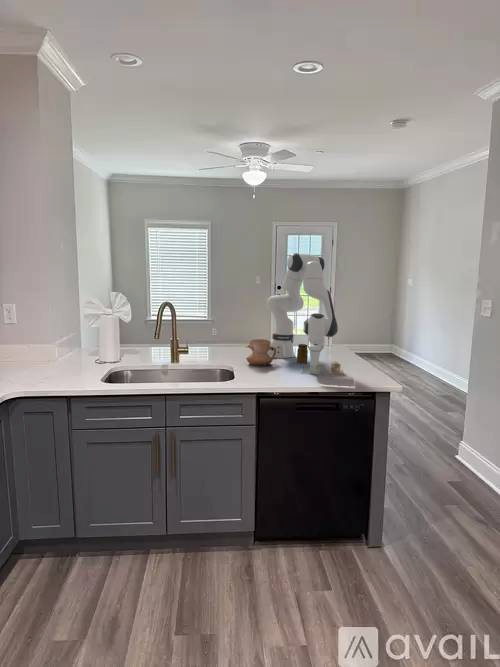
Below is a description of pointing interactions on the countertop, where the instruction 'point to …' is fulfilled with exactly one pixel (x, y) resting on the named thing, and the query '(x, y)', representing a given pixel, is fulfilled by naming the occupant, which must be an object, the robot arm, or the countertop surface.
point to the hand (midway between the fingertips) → (314, 370)
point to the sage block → (316, 369)
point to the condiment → (302, 354)
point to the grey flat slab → (322, 372)
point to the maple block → (335, 367)
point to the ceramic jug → (260, 352)
